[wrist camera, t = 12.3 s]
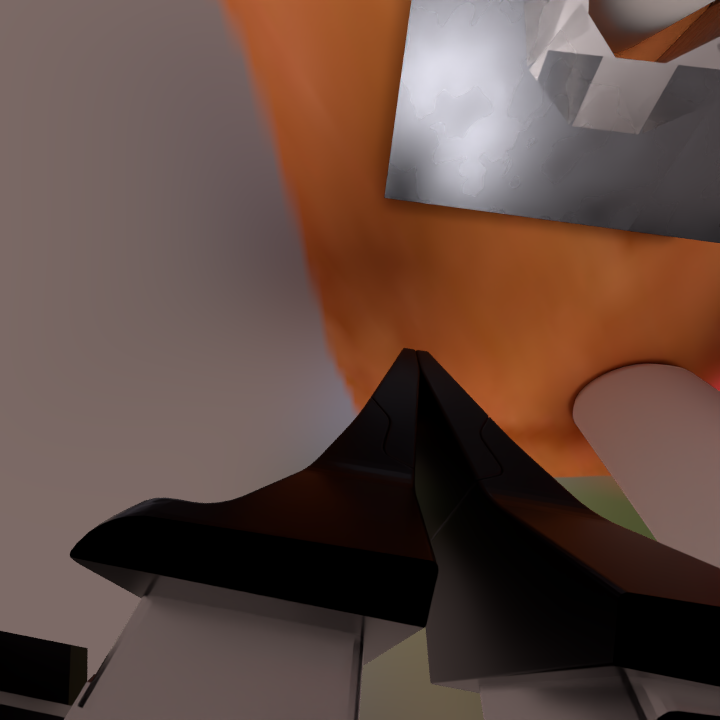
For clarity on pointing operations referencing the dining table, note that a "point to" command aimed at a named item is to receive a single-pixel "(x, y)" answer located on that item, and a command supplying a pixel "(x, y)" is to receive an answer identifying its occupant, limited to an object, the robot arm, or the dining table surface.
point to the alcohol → (660, 450)
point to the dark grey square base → (557, 119)
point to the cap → (637, 18)
